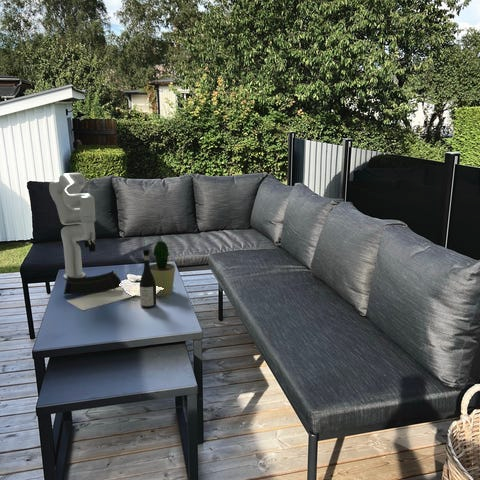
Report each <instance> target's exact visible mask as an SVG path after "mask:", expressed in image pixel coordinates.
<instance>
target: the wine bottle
mask: <svg viewBox="0 0 480 480" xmlns="http://www.w3.org/2000/svg"><path fill="white" fill-rule="evenodd" d="M142 253H143V264H144V265H143V271H142V275H141V278H140V279H139V280H140V281H139V300H140V301H139V303H140V306H141V307H142V308H144V309H152V308H154V307H156V306H157V296H156V284H155V280H154V277H153V275H152V273H151V270H150V265H151V264H150V249H148V248H145V249H143V250H142Z"/></svg>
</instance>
